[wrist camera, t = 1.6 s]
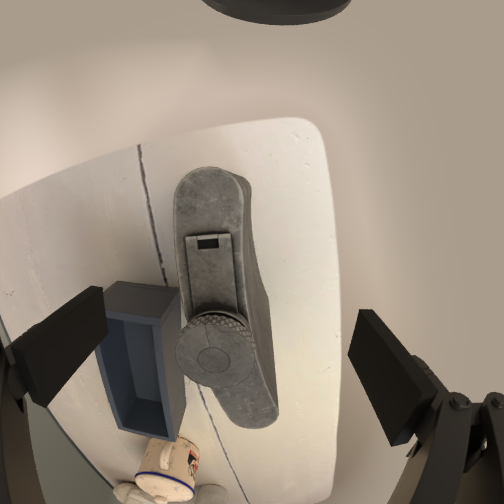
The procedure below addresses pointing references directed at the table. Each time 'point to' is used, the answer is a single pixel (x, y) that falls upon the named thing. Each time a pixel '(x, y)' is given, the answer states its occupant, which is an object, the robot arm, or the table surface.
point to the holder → (143, 359)
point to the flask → (223, 297)
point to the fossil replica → (132, 494)
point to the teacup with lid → (168, 470)
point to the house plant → (212, 495)
